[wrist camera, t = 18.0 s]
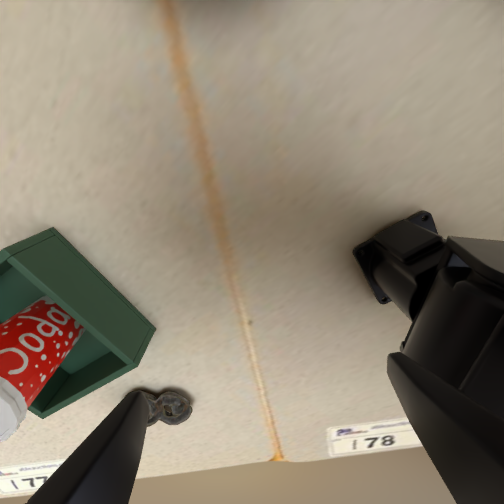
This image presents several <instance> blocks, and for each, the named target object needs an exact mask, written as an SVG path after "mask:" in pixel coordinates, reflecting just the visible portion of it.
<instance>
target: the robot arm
mask: <svg viewBox="0 0 504 504" xmlns="http://www.w3.org/2000/svg"><path fill="white" fill-rule="evenodd" d="M424 215H425V218H424V219H423V220H422V217H423V216H424ZM359 251H362V252H361V253H360V254H358V252H359ZM353 255H354V257H355V258H356V260H357V262H358V264H359V266H360V268H361V270H362V272H363V274H364V276H365V278H366V280H367V281H368V283H369V285H370V287H371V289H372V291H373V293H374V295H375V297H376V299H377V300H378V301H379V303H380V304H386V303H388V302H390V301H393V302H394V303H395V304H396V305H397V306H398V307H399V308H400V309H401V310H402V312H403V313H404V314H405V315H406V316H407V317H408V318H409V319H410V320H411V321H412V325H411V327H410V329H409V331H408V334H407V336H406V338H405V341H403V342H402V343H401V346H400V351H401V352H395V353H390V354H388V360H387V373H388V377H389V379H390V381H391V383H392V385H393V387H394V390H395V392H396V394H397V396H398V398H399V400H400V403H401V405H402V407H403V409H404V411H405V413H406V416H407V418H408V420H409V422H410V424H411V425H412V427H413V429H414V431H415V433H416V434H417V436H418V438H419V439H420V441H421V443H422V445H423V446H424V448H425V450H426V451H427V453H428V455H429V457H430V458H431V460H432V462H433V464H434V465H435V467H436V469H437V470H438V472H439V474H440V475H441V477H442V479H443V481H444V482H445V484H446V486H447V488H448V489H449V491H450V493H451V494H452V496H453V498H454V500H455V501H456V503H457V504H504V241H495V240H485V239H474V238H464V237H453V236H448V238H447V240H445V239H443V238H442V236H440V235H438V232H437V229H436V227H435V224H434V221H433V218H432V215H431V214H430V213H429V212H426V211H421V212H419V213H417V214H415V215H413V216H411V217H410V218H408V219H406V220H402V221H400V222H398V223H396V224H394V225H393V226H391V227H389V228H387V229H385V230H384V231H382V232H380V233H378V234H376V235H375V237H373V238H372V239H370V240H368V241H366V242H364V243H363V244H361V245H359V246H357V247H356V248H354V250H353ZM384 297H385V298H384ZM382 298H384V299H382ZM149 412H150V407H149V403H148V401H147V399H146V397H145V395H144V393H143V392H142V391H140V390H139V391H133V392H130V393H129V394H127V396H126V397H125V398H124V399H123V400H122V401H121V402H120V403H119V404H118V405H117V406H116V407H115V408H114V409H113V410H112V412H111V413H110V414H109V415H108V416H107V417H106V418H105V419H104V420H103V421H102V422H101V423H100V424H99V425H98V426H97V427H96V429H95V430H94V431H93V432H92V433H91V434H90V435H89V436H88V437H87V438H86V439H85V440H84V441H83V442H82V443H81V445H80V446H79V447H78V448H77V449H76V450H75V451H74V452H73V453H72V454H71V455H70V456H69V457H68V458H67V459H66V461H65V462H64V463H63V464H62V465H61V466H60V467H59V468H58V469H57V470H56V471H55V472H54V473H53V474H52V475H51V476H50V478H49V479H48V480H47V481H46V482H45V483H44V484H43V485H42V486H41V487H40V488H39V489H38V490H37V491H36V492H35V494H34V495H33V496H32V497H31V498H30V499H29V500H28V502H27V503H25V504H128V502H129V499H130V495H131V492H132V488H133V484H134V481H135V478H136V474H137V470H138V467H139V463H140V459H141V454H142V449H143V444H144V439H145V433H146V428H147V423H148V417H149Z"/></svg>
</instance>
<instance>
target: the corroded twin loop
mask: <svg viewBox="0 0 504 504" xmlns="http://www.w3.org/2000/svg"><path fill="white" fill-rule="evenodd" d="M142 392H143V393H144V395H145V397H146V399H147V401H148V403H149V407H150V412H149V417H148V423H147V427H148V426H151V425H153V424H155V423H156V422H157V421H158V420H161V421H163V422H165V423H166V424H168V425H178V424H180V423H182V422H184V421H186V420H187V419H188V418H189V417H190V415H191V413H192V407H191V406H190V402H189V400H187V399H186V398H185V397H183V396H181V395H179V394H177V393H175V392H165V393H163V394H161V395H160V396H159V398H158V399H156V398H155V397H154V396H153V395H151V394H149V393H146V392H144V391H142ZM164 405H170V406H171V410H172V413H169V412H167V411H166V410H165V409H164Z"/></svg>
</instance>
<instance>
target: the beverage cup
mask: <svg viewBox="0 0 504 504" xmlns="http://www.w3.org/2000/svg"><path fill="white" fill-rule="evenodd" d="M85 330H86V329H85V328H84V327H83V326H82V325H81V324H79V323H78V322H77V321H76V320H75V319H74V318H72V317H71V316H70V315H69V314H68V313H67V312H65V311H64V310H63V309H62V308H61V307H60V306H59V305H57V304H56V303H55V302H54V301H53V300H52V299H50V298H49V297H48V296H47V295H46V296H43V297H41V298H40V299H38V300H37V301H35V302H34V303H32V304H31V305H29V306H28V307H26V308H25V309H23V310H22V311H20V312H18V313H17V314H15V315H14V316H12V317H11V318H9V319H8V320H6V321H5V322H3V323H2V324H0V442H2V441H5V440H7V439H8V438H9V437H10V436H11V435H12V434H13V433H14V432H16V430H17V429H18V428H19V426H20V423H21V422H22V421H23V420H24V419H25V418H26V412H27V409H28V407H29V406H30V405H31V403H32V402H33V401H34V399H35V398H36V397H37V395H38V394H39V392H40V391H41V390H42V388H43V387H44V386H45V384H46V383H47V382H48V380H49V379H50V378H51V376H52V375H53V373H54V372H55V371H56V369H57V368H58V367H59V365H60V364H61V363H62V361H63V360H64V359H65V357H66V356H67V354H68V353H69V352H70V350H71V349H72V348H73V346H74V345H75V344H76V342H77V341H78V340H79V338H80V337H81V336H82V334H83V333H84V331H85Z"/></svg>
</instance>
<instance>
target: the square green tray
mask: <svg viewBox="0 0 504 504" xmlns="http://www.w3.org/2000/svg"><path fill="white" fill-rule="evenodd" d="M46 295H47V296H48V297H49V298H50V299H52V300H53V301H54V302H55V303H56V304H57V305H59V306H60V307H61V308H62V309H63V310H64V311H65V312H67V313H68V314H69V315H70V316H71V317H72V318H74V319H75V320H76V321H77V322H78V323H79V324H81V325H82V326H83V327H84V328H85V329H86V330H85V331H84V333H83V334H82V336H81V337H80V338H79V340H78V341H77V342H76V344H75V345H74V346H73V348H72V349H71V350H70V352H69V353H68V354H67V356H66V357H65V359H64V360H63V361H62V363H61V364H60V365H59V367H58V368H57V369H56V371H55V372H54V373H53V375H52V376H51V378H50V379H49V380H48V382H47V383H46V384H45V386H44V387H43V388H42V390H41V391H40V392H39V394H38V395H37V397H36V398H35V399H34V401H33V402H32V403H31V405H30V406H29V407H28V410H29V411H31V412H32V413H34V414H35V415H38V417H40V418H42V419H44V418H46V417H47V416H49V415H51V414H53V413H55V412H56V411H58V410H60V409H62V408H64V407H66V406H67V405H69V404H71V403H73V402H75V401H76V400H78V399H80V398H82V397H84V396H85V395H87V394H89V393H91V392H93V391H94V390H96V389H98V388H100V387H102V386H104V385H105V384H107V383H109V382H111V381H113V380H114V379H116V378H118V377H120V376H122V375H123V374H125V373H127V372H129V371H131V370H132V369H134V368H136V367H138V365H139V363H140V361H141V359H142V357H143V355H144V353H145V351H146V349H147V347H148V344H149V342H150V340H151V338H152V336H153V334H154V332H155V330H156V328H155V327H154V326H153V325H152V324H151V323H150V322H149V321H148V320H147V319H146V318H145V317H144V316H143V315H142V314H141V313H140V312H139V311H138V310H137V309H136V308H135V307H134V306H133V305H132V304H131V303H129V302H128V301H127V300H126V299H125V298H124V297H123V296H122V295H121V294H120V293H119V292H118V291H117V290H116V289H115V288H114V287H113V286H112V285H111V284H110V283H109V282H108V281H107V280H106V279H105V278H104V277H103V276H102V275H101V274H100V273H99V272H98V271H97V270H96V269H95V268H94V267H93V266H92V265H91V264H90V263H89V262H88V261H87V260H86V259H85V258H84V257H83V256H82V255H81V254H80V253H79V252H78V251H77V250H76V249H75V248H74V247H73V246H72V245H71V244H70V243H69V242H68V241H67V240H66V239H65V238H64V237H63V236H62V235H61V234H60V233H58V232H57V231H56V230H55V229H54V228H53V227H52V228H50V229H48V230H45V231H43V232H41V233H38V234H36V235H34V236H31V237H29V238H27V239H24V240H22V241H20V242H18V243H15V244H13V245H11V246H8V247H6V248H4V249H2V250H1V251H0V324H2V323H3V322H5V321H6V320H8V319H9V318H11V317H12V316H14V315H15V314H17V313H18V312H20V311H22V310H23V309H25V308H26V307H28V306H29V305H31V304H32V303H34V302H35V301H37V300H38V299H40V298H41V297H43V296H46Z"/></svg>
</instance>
